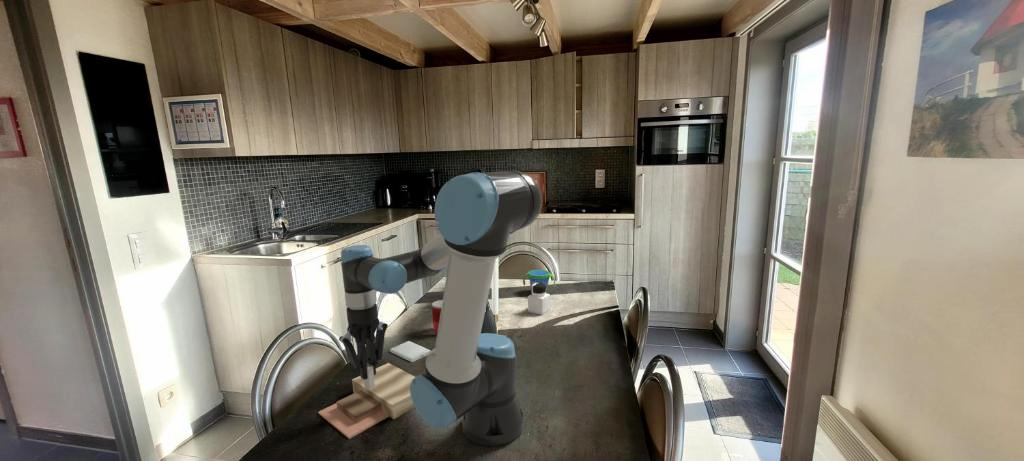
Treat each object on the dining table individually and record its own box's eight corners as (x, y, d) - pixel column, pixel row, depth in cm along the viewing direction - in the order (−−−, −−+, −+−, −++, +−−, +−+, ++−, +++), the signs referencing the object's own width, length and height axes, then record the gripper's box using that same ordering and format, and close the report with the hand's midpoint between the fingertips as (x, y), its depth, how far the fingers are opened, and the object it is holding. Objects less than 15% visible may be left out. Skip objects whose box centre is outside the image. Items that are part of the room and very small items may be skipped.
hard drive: (389, 348, 142) (411, 359, 134) (409, 340, 148) (431, 349, 140) (390, 353, 142) (412, 363, 134) (409, 344, 148) (431, 354, 140)
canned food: (444, 336, 153) (443, 308, 151) (429, 331, 157) (427, 304, 155) (457, 328, 159) (456, 301, 157) (442, 324, 164) (440, 298, 162)
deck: (430, 397, 114) (429, 384, 113) (393, 419, 105) (392, 405, 104) (389, 374, 127) (388, 362, 126) (353, 392, 118) (352, 379, 117)
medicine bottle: (550, 309, 176) (550, 282, 174) (542, 315, 170) (542, 287, 168) (536, 306, 180) (535, 280, 178) (527, 312, 174) (527, 285, 172)
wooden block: (381, 410, 108) (380, 403, 108) (356, 423, 103) (355, 416, 103) (361, 396, 115) (360, 390, 114) (337, 408, 109) (336, 401, 109)
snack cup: (557, 290, 201) (557, 270, 199) (552, 297, 191) (551, 276, 189) (527, 287, 206) (526, 268, 204) (520, 294, 196) (520, 274, 195)
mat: (389, 416, 106) (389, 414, 106) (349, 439, 98) (349, 437, 98) (357, 394, 116) (356, 393, 116) (318, 413, 108) (318, 411, 108)
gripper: (376, 295, 113) (383, 373, 118) (330, 309, 104) (339, 393, 108) (391, 300, 108) (398, 382, 113) (344, 316, 99) (354, 404, 103)
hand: (369, 387), depth 110 cm, fingers closed
